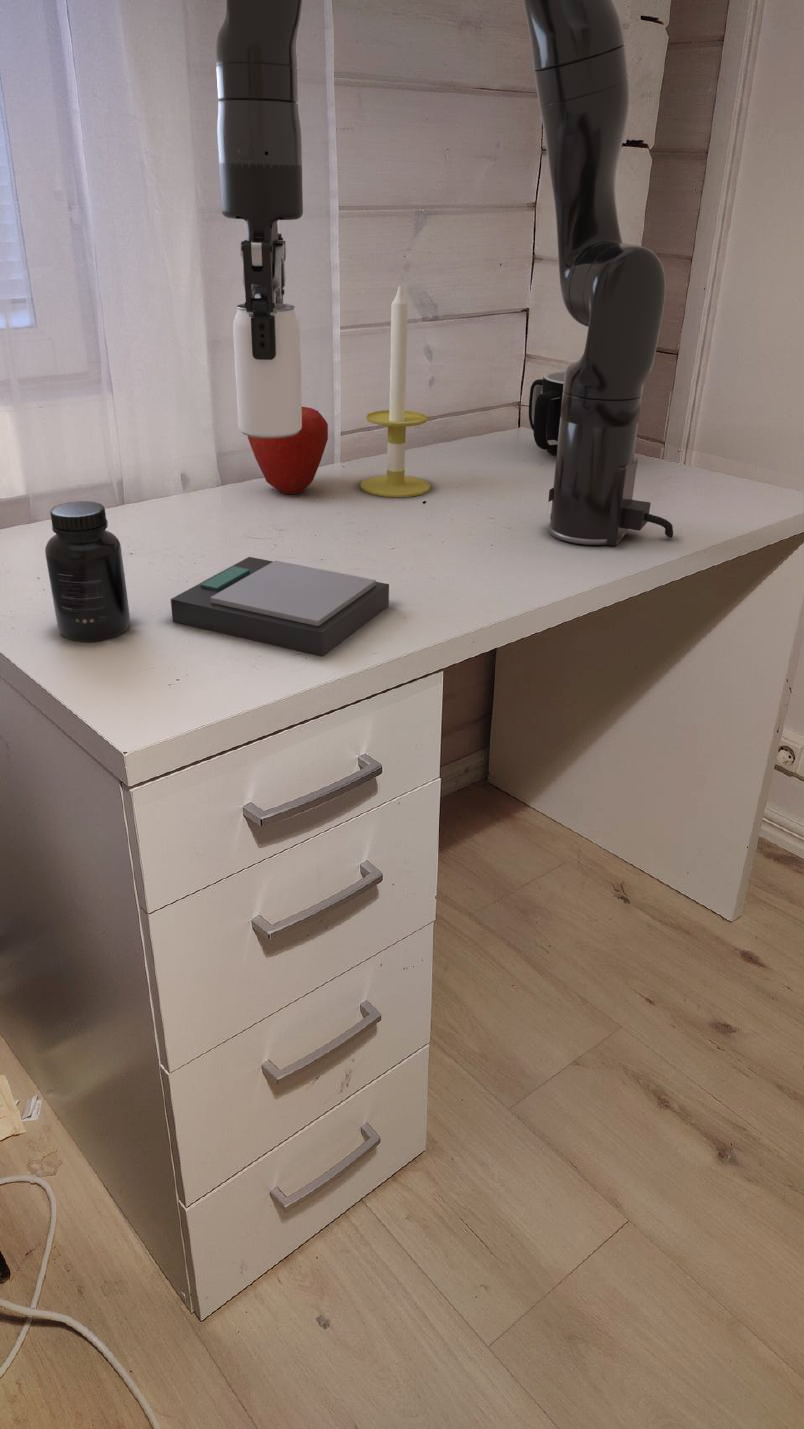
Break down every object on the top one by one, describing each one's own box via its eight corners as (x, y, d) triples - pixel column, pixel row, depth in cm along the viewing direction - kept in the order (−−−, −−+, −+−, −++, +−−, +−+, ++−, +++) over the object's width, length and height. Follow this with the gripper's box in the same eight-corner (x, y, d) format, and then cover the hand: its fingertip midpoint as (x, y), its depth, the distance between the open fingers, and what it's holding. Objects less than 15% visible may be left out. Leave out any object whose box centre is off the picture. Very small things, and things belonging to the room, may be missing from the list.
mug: (520, 463, 157) (527, 383, 151) (526, 439, 170) (532, 366, 165) (627, 470, 154) (638, 390, 149) (624, 446, 168) (634, 371, 163)
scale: (388, 605, 105) (389, 578, 103) (322, 656, 93) (322, 626, 92) (250, 577, 111) (248, 551, 109) (172, 621, 100) (169, 593, 98)
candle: (444, 487, 144) (454, 283, 131) (398, 501, 137) (403, 288, 124) (392, 473, 150) (396, 276, 137) (345, 486, 143) (345, 281, 130)
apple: (282, 476, 147) (279, 390, 141) (344, 488, 142) (343, 400, 137) (234, 493, 139) (229, 403, 133) (298, 507, 134) (295, 414, 128)
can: (290, 441, 100) (287, 312, 94) (229, 436, 101) (221, 308, 95) (310, 427, 105) (307, 304, 100) (251, 422, 106) (245, 300, 101)
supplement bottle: (65, 615, 100) (48, 497, 95) (135, 614, 101) (122, 497, 95) (50, 643, 94) (30, 519, 89) (124, 643, 95) (110, 519, 89)
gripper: (296, 161, 85) (301, 366, 93) (306, 161, 98) (309, 343, 106) (207, 158, 85) (220, 365, 93) (228, 159, 98) (237, 341, 106)
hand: (267, 352), depth 99 cm, fingers closed on can, 6 cm apart
